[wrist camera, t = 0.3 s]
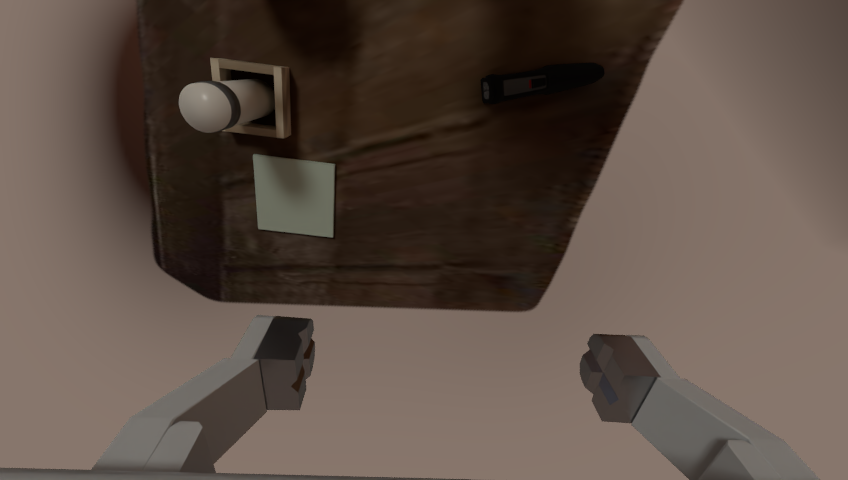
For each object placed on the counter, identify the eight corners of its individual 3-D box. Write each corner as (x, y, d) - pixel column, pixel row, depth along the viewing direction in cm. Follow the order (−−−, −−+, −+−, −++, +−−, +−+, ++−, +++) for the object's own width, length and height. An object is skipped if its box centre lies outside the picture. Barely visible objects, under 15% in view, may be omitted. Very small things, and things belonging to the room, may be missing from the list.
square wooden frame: (222, 58, 50) (210, 57, 47) (289, 67, 51) (281, 67, 48) (228, 126, 54) (217, 130, 51) (291, 134, 54) (283, 138, 52)
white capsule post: (237, 75, 51) (174, 78, 38) (275, 80, 51) (225, 85, 39) (240, 115, 53) (181, 130, 41) (277, 119, 53) (230, 136, 41)
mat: (254, 154, 56) (253, 154, 55) (335, 164, 56) (334, 165, 56) (259, 227, 61) (258, 228, 60) (333, 236, 61) (332, 237, 61)
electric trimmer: (594, 87, 52) (604, 88, 49) (482, 104, 52) (485, 106, 50) (595, 57, 50) (606, 56, 47) (480, 75, 51) (483, 76, 48)
